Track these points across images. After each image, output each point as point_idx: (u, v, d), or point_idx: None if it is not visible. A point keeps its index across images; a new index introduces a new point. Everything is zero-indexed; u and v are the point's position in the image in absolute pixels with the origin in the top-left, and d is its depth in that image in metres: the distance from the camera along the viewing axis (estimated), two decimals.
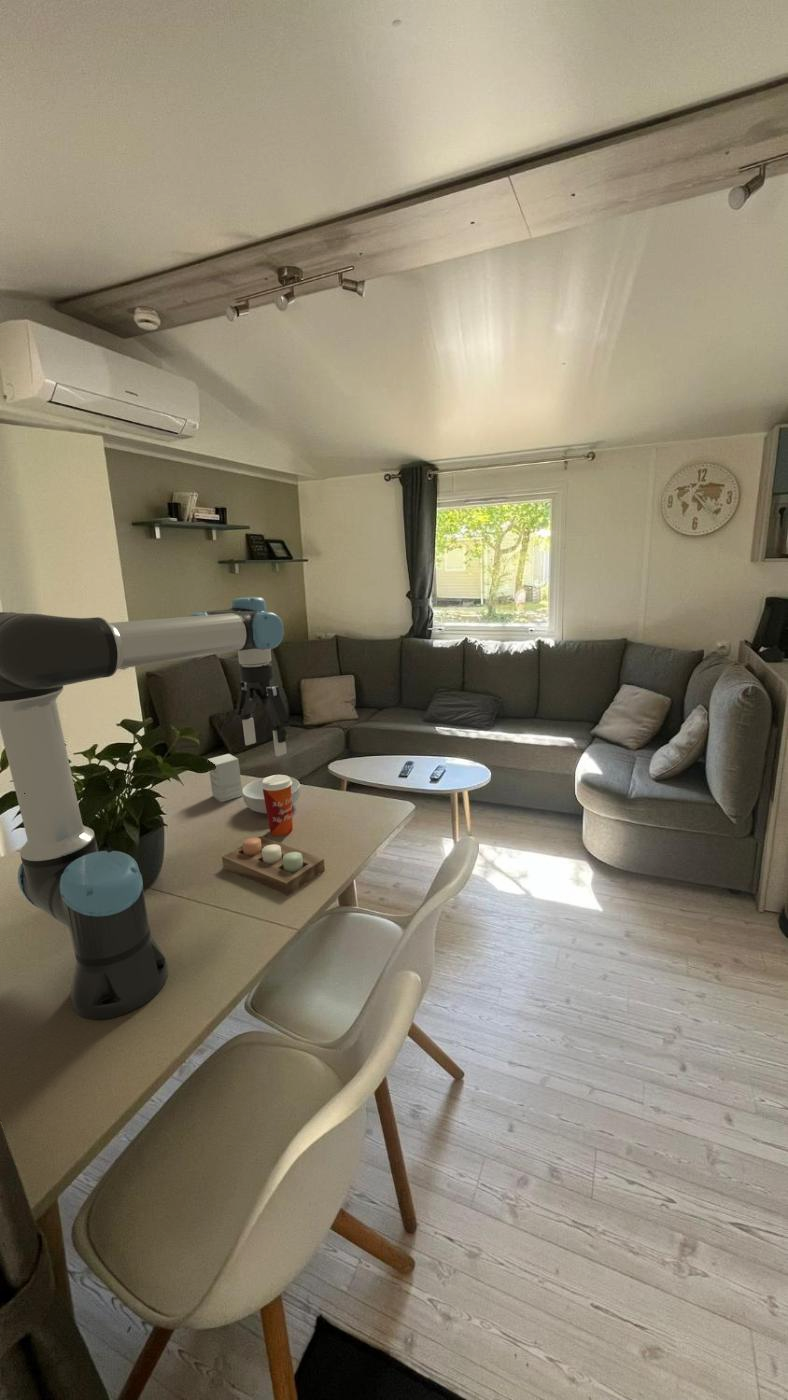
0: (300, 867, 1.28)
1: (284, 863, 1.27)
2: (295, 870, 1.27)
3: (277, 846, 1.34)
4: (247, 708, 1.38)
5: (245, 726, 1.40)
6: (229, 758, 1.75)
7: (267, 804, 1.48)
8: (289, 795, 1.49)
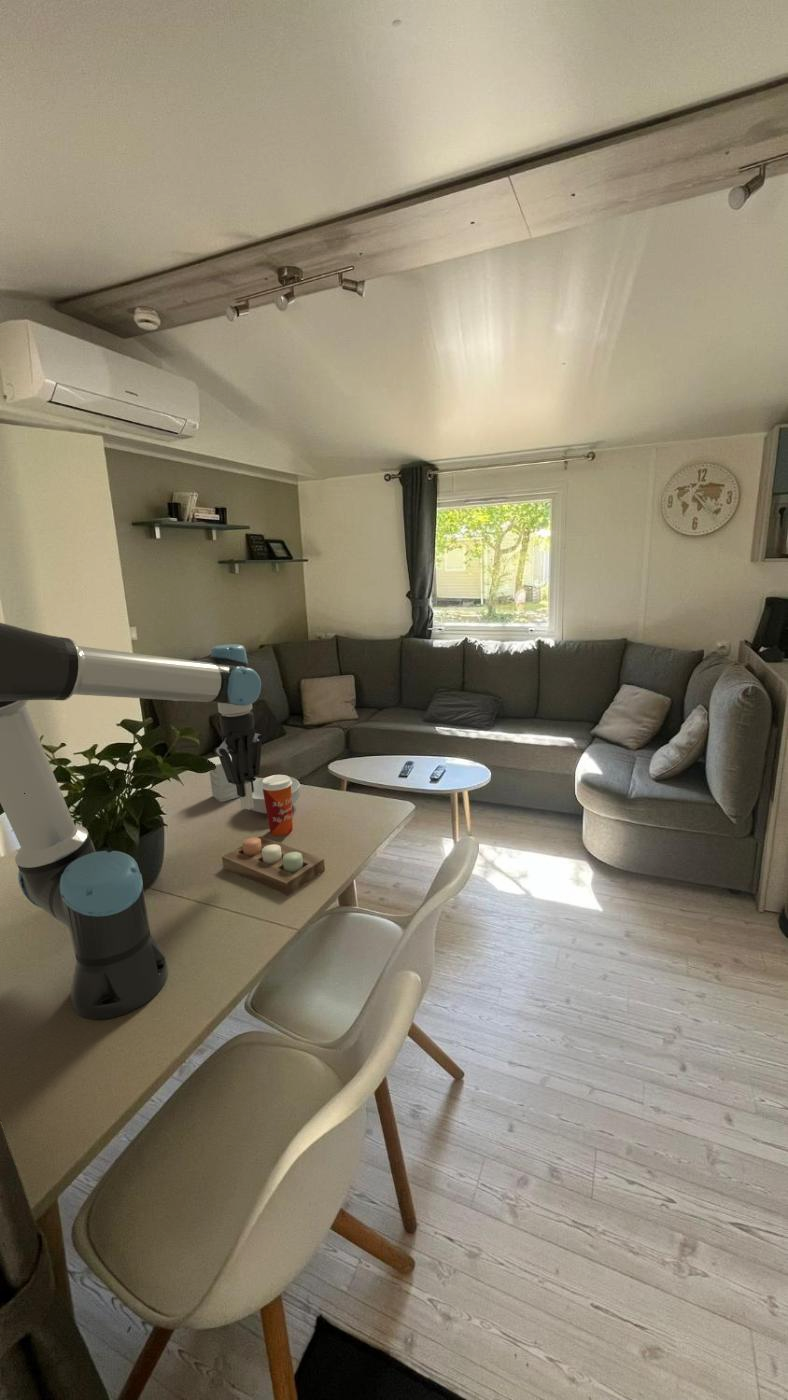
0: (300, 867, 1.28)
1: (284, 863, 1.27)
2: (295, 870, 1.27)
3: (277, 846, 1.34)
4: None
5: None
6: None
7: (267, 804, 1.48)
8: (289, 795, 1.49)
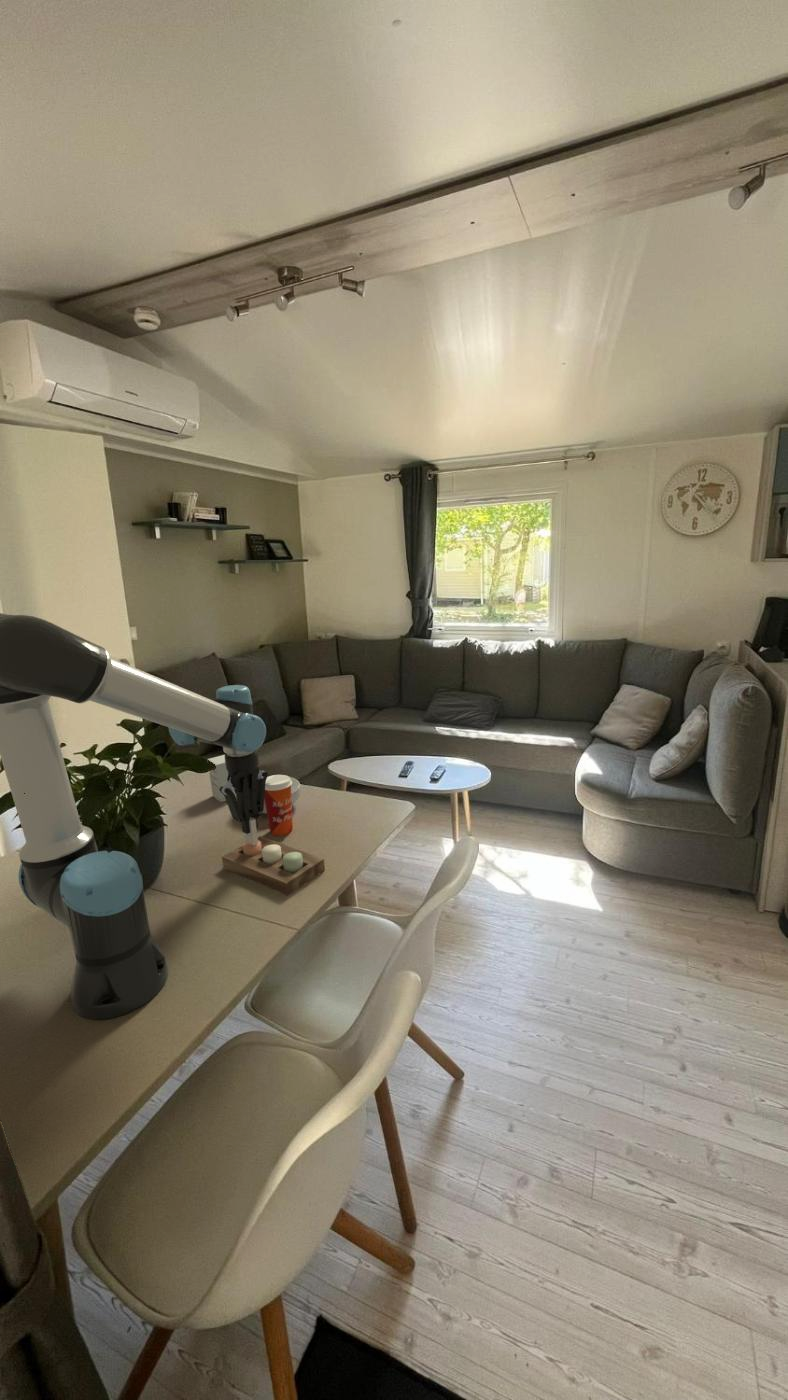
0: (300, 867, 1.28)
1: (284, 863, 1.27)
2: (295, 870, 1.27)
3: (277, 846, 1.34)
4: None
5: None
6: None
7: (267, 804, 1.48)
8: (289, 795, 1.49)
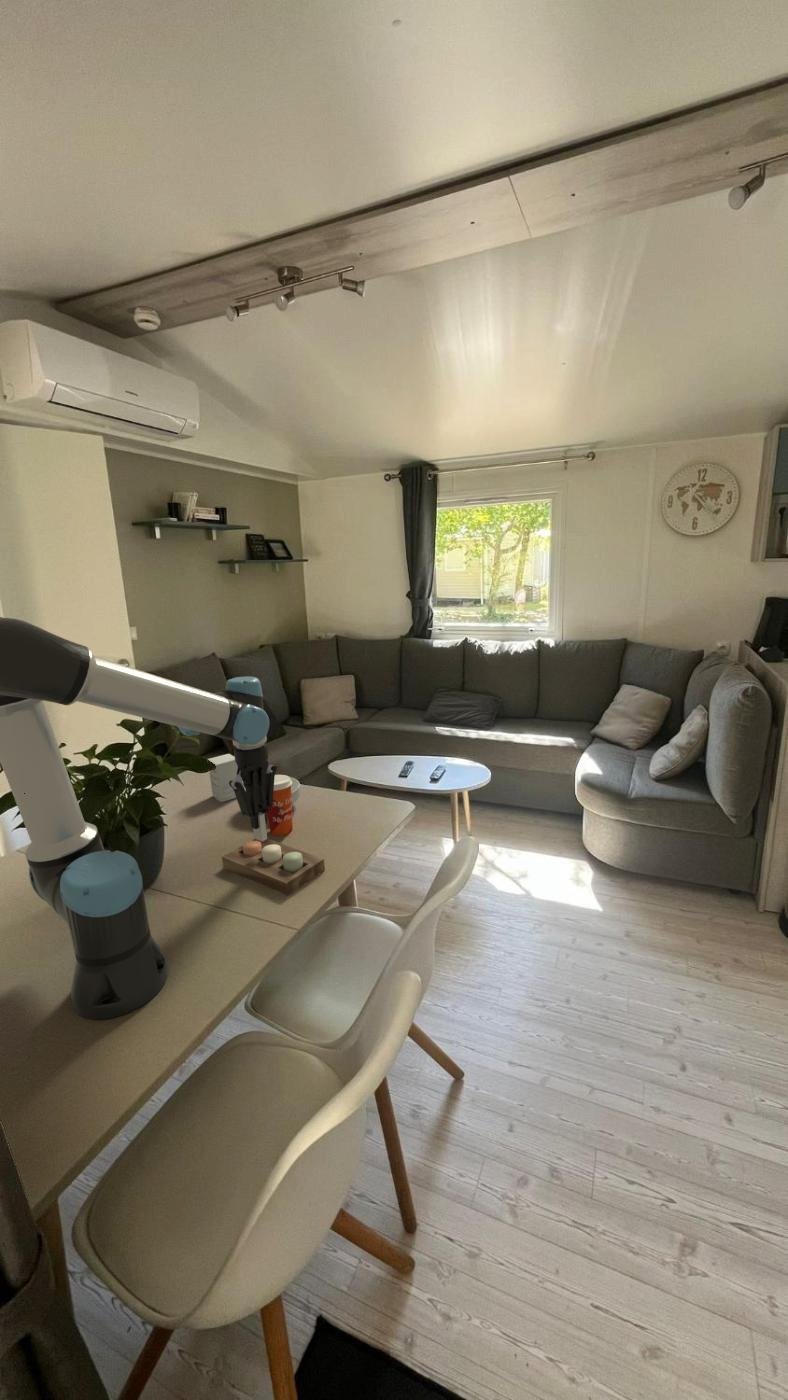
0: (300, 867, 1.28)
1: (284, 863, 1.27)
2: (295, 870, 1.27)
3: (277, 846, 1.34)
4: None
5: None
6: (229, 758, 1.75)
7: None
8: (289, 795, 1.49)
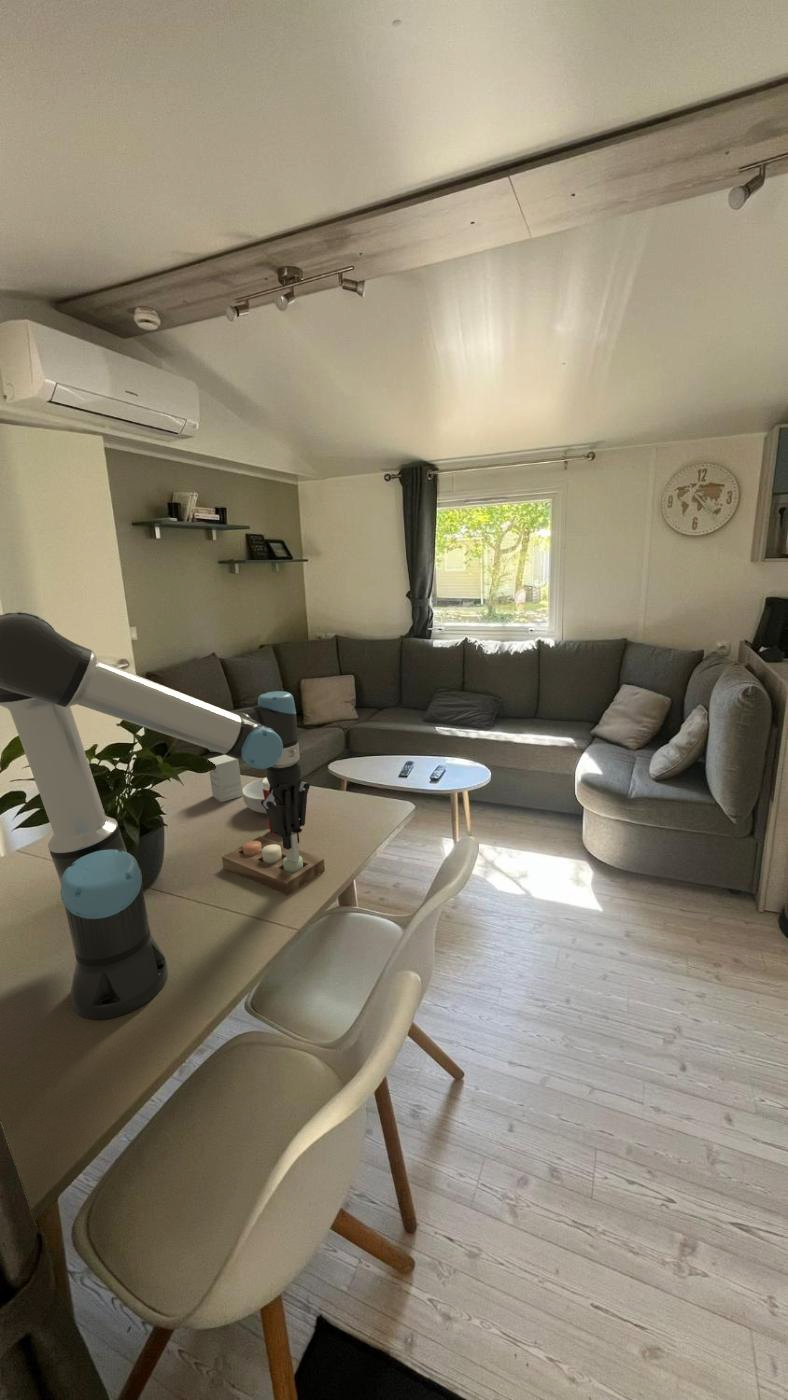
0: None
1: (284, 866, 1.28)
2: None
3: (277, 846, 1.34)
4: None
5: None
6: (229, 758, 1.75)
7: None
8: None
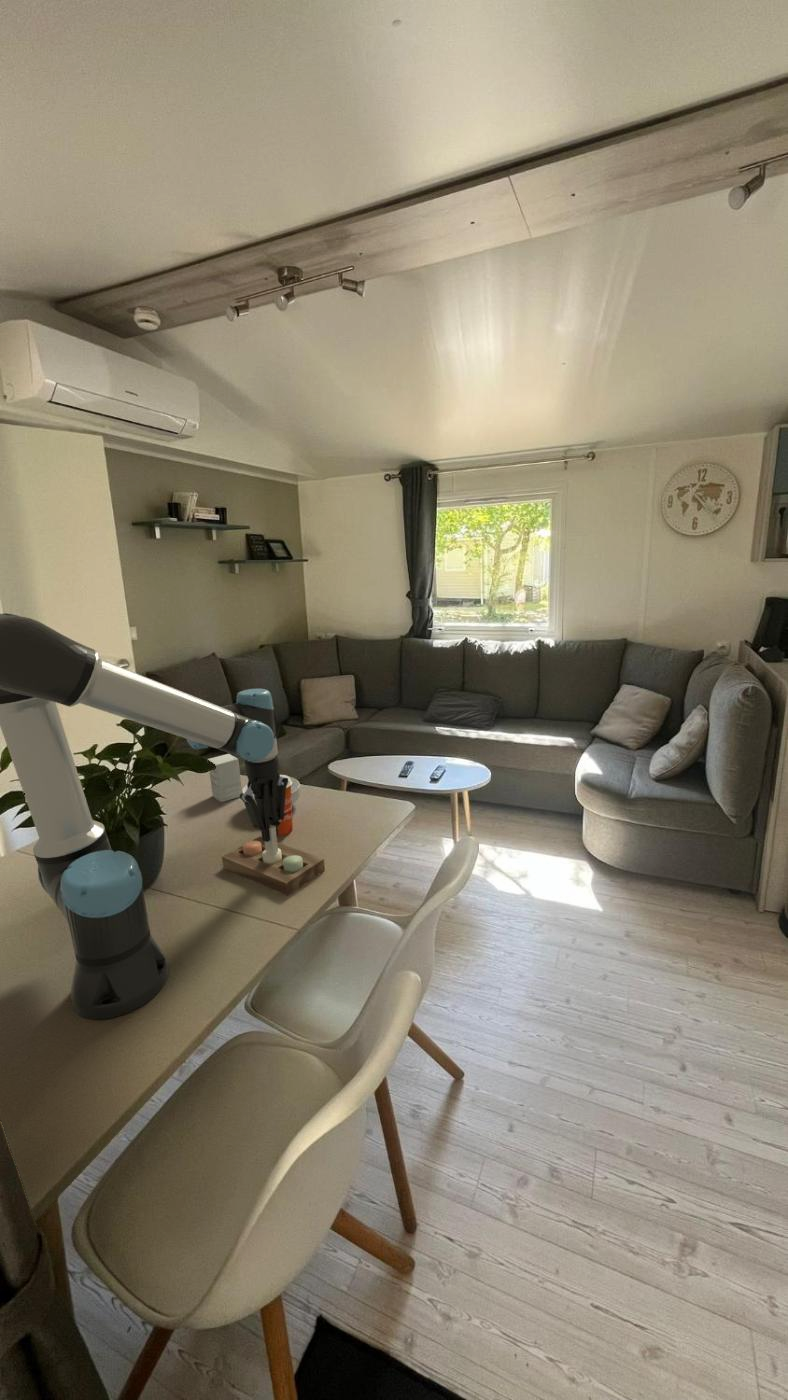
0: None
1: (284, 867, 1.28)
2: None
3: None
4: None
5: None
6: (229, 758, 1.75)
7: None
8: (289, 795, 1.49)
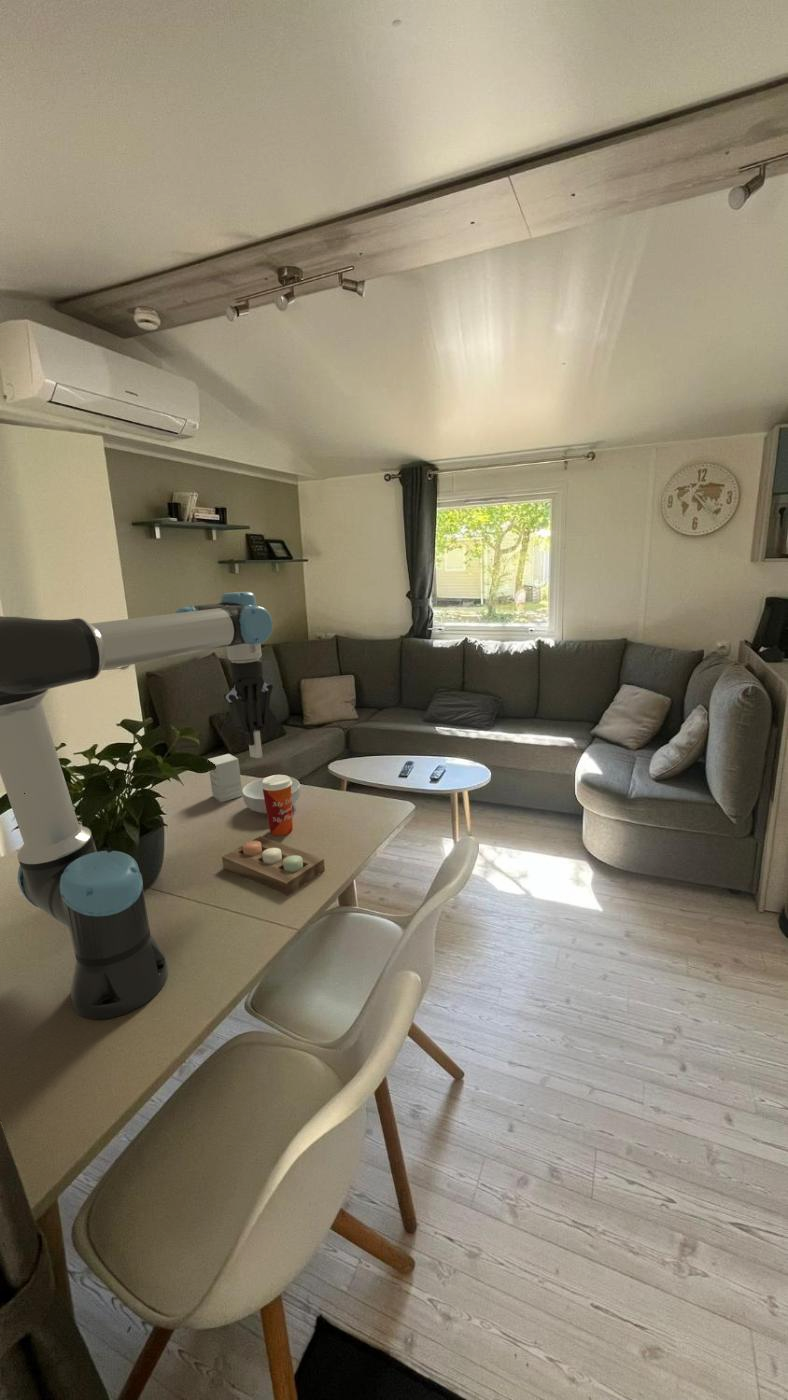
0: None
1: (284, 867, 1.28)
2: None
3: (277, 849, 1.34)
4: None
5: None
6: (229, 758, 1.75)
7: (267, 804, 1.48)
8: (289, 795, 1.49)
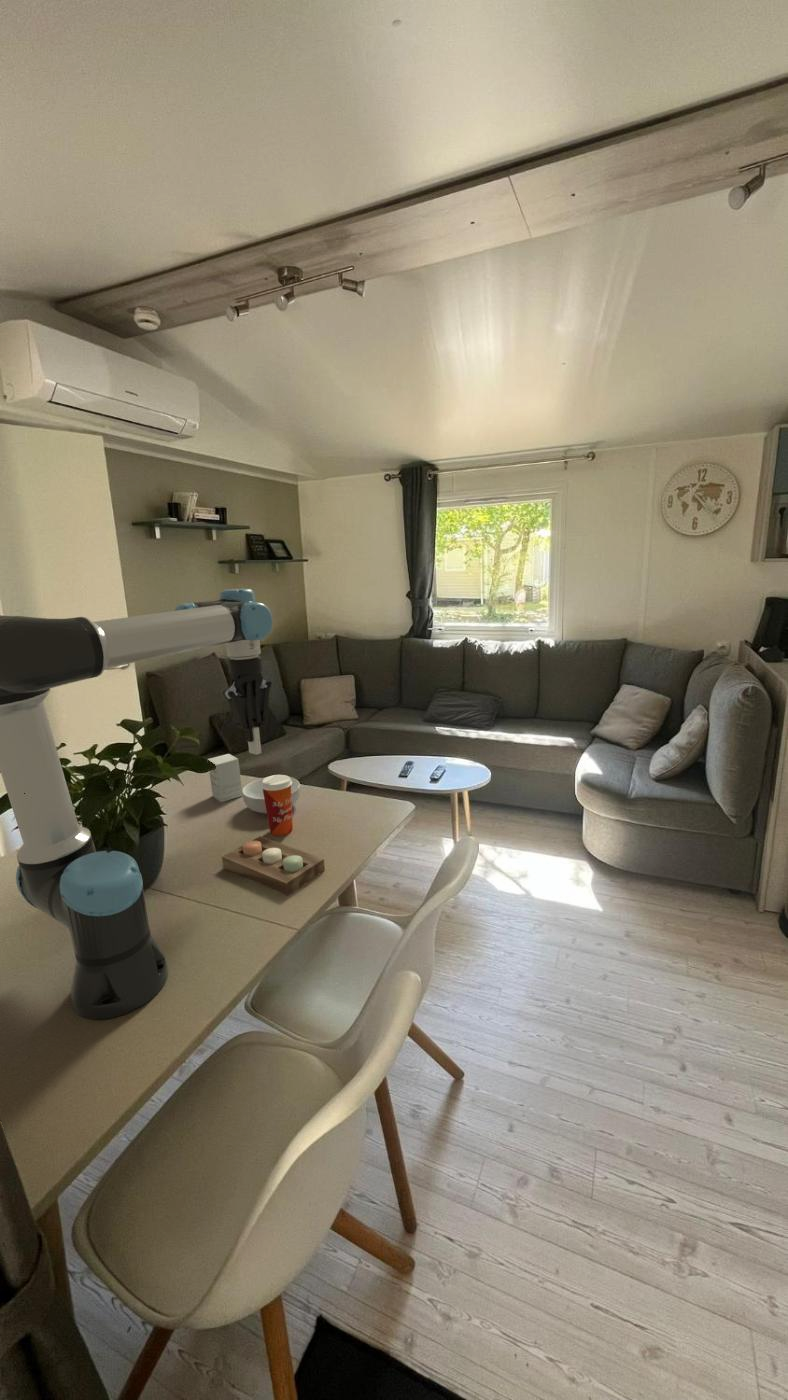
0: None
1: (284, 867, 1.28)
2: None
3: (277, 849, 1.34)
4: None
5: None
6: (229, 758, 1.75)
7: (267, 804, 1.48)
8: (289, 795, 1.49)
